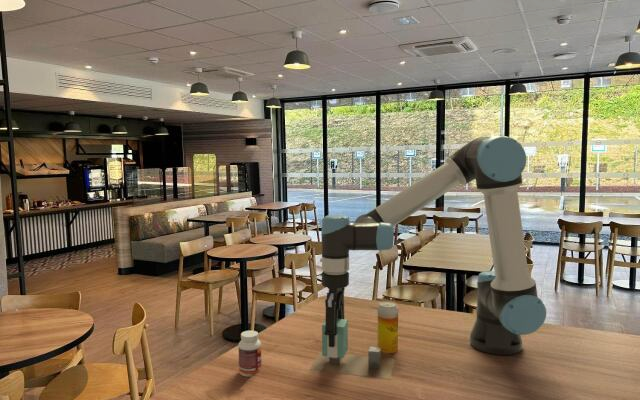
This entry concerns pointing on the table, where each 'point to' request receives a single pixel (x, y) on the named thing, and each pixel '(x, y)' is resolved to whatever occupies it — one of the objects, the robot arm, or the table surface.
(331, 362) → the tall post
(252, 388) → the table surface
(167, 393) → the table surface
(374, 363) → the short post
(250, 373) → the pill bottle
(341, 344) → the mint green toy brick
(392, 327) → the beer can
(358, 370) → the board
